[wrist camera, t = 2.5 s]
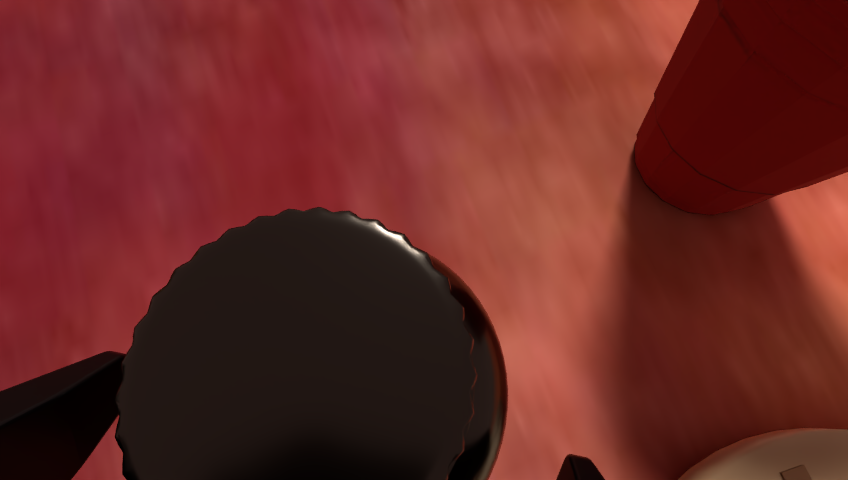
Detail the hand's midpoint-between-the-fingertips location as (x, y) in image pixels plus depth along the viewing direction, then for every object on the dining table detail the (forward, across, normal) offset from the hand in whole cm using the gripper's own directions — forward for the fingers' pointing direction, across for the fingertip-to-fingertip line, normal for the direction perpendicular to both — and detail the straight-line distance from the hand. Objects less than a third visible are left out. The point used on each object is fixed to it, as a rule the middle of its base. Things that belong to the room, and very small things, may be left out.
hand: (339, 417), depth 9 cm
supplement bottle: (+6, 0, +6) cm, 9 cm away
